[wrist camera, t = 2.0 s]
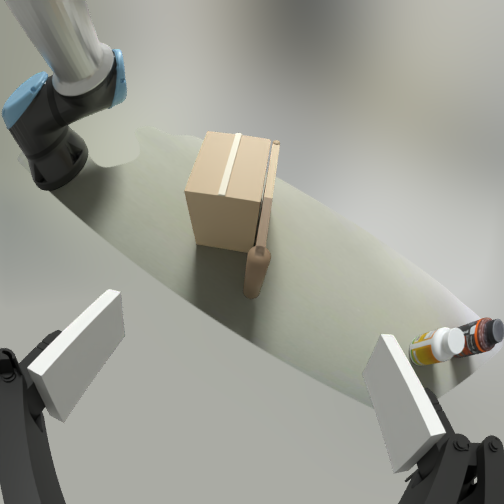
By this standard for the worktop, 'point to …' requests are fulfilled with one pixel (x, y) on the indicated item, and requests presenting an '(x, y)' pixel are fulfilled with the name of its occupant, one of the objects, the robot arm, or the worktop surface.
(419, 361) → the supplement bottle
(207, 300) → the worktop surface
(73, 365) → the robot arm
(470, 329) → the supplement bottle
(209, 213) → the carton
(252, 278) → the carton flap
